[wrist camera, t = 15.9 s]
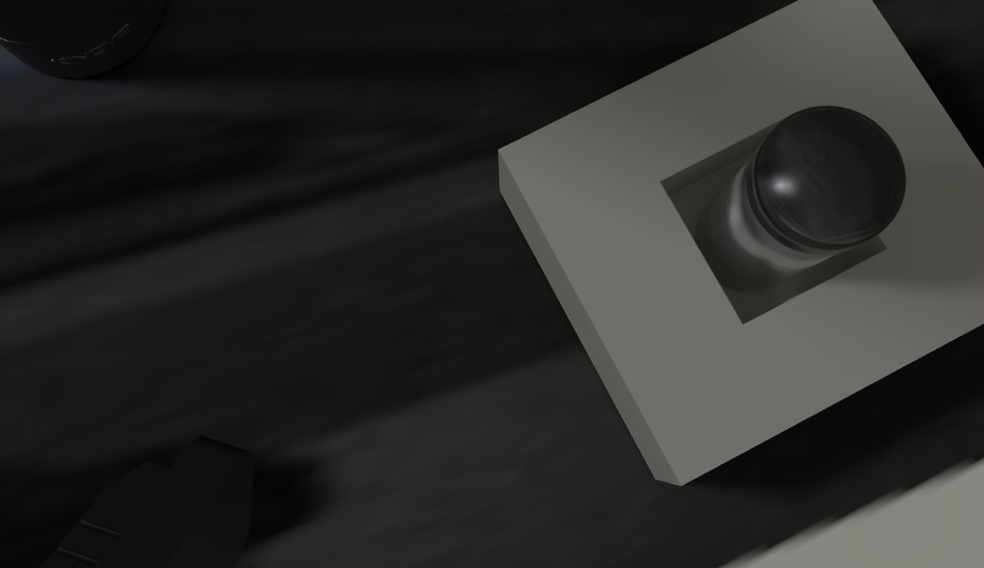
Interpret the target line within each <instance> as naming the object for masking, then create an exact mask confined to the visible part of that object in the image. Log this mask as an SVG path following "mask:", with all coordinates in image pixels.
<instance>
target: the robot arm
mask: <svg viewBox="0 0 984 568" xmlns="http://www.w3.org/2000/svg"><path fill="white" fill-rule="evenodd" d="M165 1H166V0H0V45H1V46H3V47H4V48H5V49H7V50H8V51H9V52H10V53H12V54H13V55H14V56H16V57H17V58H18V59H19V60H21V61H22V62H23V63H25V64H26V65H27V66H29V67H31V68H33V69H35V70H37V71H39V72H41V73H44V74H48V75H52V76H56V77H62V78H82V77H88V76H94V75H98V74H101V73H103V72H106V71H109V70H112V69H114V68H116V67H117V66H119V65H121V64H122V63H124V62H126V61H127V60H129V59H130V58H131V57H133V56H134V55H135V54H136V53H137V52H138V51H139V50H140V49H142V48H143V47H144V45H145V44H146V43H147V41H148V40H149V39H150V37H151V36H152V35H153V33H154V32H155V30H156V28H157V26H158V23H159V21H160V19H161V17H162V13H163V9H164V5H165ZM253 466H254V458H253V454H252V453H251V452H249V451H246V450H243V449H240V448H237V447H234V446H231V445H228V444H225V443H222V442H219V441H216V440H213V439H210V438H207V437H204V436H198V437H196V438H195V439H193V440H192V441H191V442H190V443H189V444H188V446H187V447H186V448H185V449H184V451H183V452H182V453H181V455H180V456H179V457H178V459H177V460H176V461H175V462H174V464H173V465H172V466H171V468H170V469H167V468H164V467H161V466H159V465H156V464H153V463H150V462H145V463H143V464H142V465H140V466H138V467H137V468H135V469H134V470H132V471H130V472H129V473H127V474H126V475H124V476H122V477H121V478H119V479H118V480H116V481H114V482H113V483H111V484H109V485H108V486H107V488H106V489H105V490H104V491H103V492H102V494H101V495H100V496H99V497H98V498H97V500H96V501H95V502H94V503H93V504H92V506H91V507H90V508H89V509H88V510H87V512H86V513H85V514H84V515H83V516H82V518H81V521H80V523H79V524H78V525H75V526H74V527H73V528H72V530H71V531H70V532H69V533H68V534H67V536H66V537H65V538H64V539H63V540H62V542H61V543H60V544H59V547H58V549H57V551H56V552H55V553H54V552H52V554H51V555H50V556H49V557H48V558H47V560H46V561H45V562H44V563H43V564H42V566H41V567H40V568H233V567H234V566H235V564H236V562H237V560H238V558H239V556H240V554H241V551H242V549H243V547H244V544H245V541H246V538H247V535H248V531H249V527H250V521H251V505H252V485H253Z"/></svg>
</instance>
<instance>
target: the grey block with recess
mask: <svg viewBox="0 0 984 568" xmlns="http://www.w3.org/2000/svg"><path fill="white" fill-rule="evenodd" d="M828 105H829V106H839V107H844V108H848V109H851V110H854V111H857V112H859V113H861V114H863V115H865V116H867V117H869V118H870V119H872V120H873V121H875V122H876V123H877V124H878V125H880V126H881V127H882V128H883V129H884V130H885V131H886V132H887V133H888V134H889V136H890V137H891V138H892V140H893V141H894V143H895V144H896V146H897V148H898V150H899V152H900V154H901V157H902V159H903V163H904V167H905V173H906V189H905V196H904V199H903V202H902V205H901V207H900V210H899V212H898V213H897V215H896V217H895V218H894V220H893V221H892V222H891V223H890V224H889V225H888V227H887V228H885V229H884V230H883V231H882V232H881V233H879V234H878V235H876V236H875V237H873V238H871V239H870V240H868V241H866V242H864V243H862V244H860V245H858V246H856V247H854V248H852V249H850V250H848V251H845V252H842V253H838V254H835V255H834V256H832V257H830V258H828V259H826V260H824V261H822V262H821V263H819V264H817V265H815V266H813V267H811V268H809V269H807V270H806V271H804V272H802V273H800V274H798V275H796V276H794V277H793V278H791V279H789V280H787V281H785V282H783V283H781V284H780V285H778V286H776V287H774V288H771V289H769V290H766V291H763V292H757V293H745V292H739V291H734V290H732V289H729V288H727V287H725V286H723V285H721V284H720V283H718V281H717V279H716V277H715V276H714V274H713V272H712V271H711V269H710V267H709V265H708V264H707V262H706V260H705V258H704V257H703V255H702V253H701V252H700V250H699V248H698V246H697V245H696V243H695V229H696V225H697V222H698V219H699V217H700V215H701V213H702V212H703V211H704V209H705V208H706V207H707V206H708V205H709V203H710V202H711V201H712V200H713V199H714V198H715V197H716V196H717V195H718V194H719V192H720V191H721V190H722V189H723V188H724V187H725V186H726V185H727V184H728V183H729V182H730V180H731V179H732V178H733V177H734V176H735V175H736V174H737V173H738V172H739V171H740V169H741V168H742V167H743V166H744V165H745V164H746V163H747V162H748V161H749V160H750V159H751V157H752V156H753V154H754V152H755V151H756V149H757V148H758V146H759V145H760V144H761V142H762V141H763V140H764V139H765V138H766V137H767V136H768V135H769V134H770V132H771V131H772V130H773V129H774V128H775V127H776V126H777V125H778V124H779V123H780V122H781V121H783V120H784V119H785V118H787V117H788V116H790V115H791V114H793V113H795V112H798V111H800V110H803V109H806V108H809V107H815V106H828ZM498 156H499V180H500V192H501V194H502V196H503V197H504V199H505V201H506V203H507V205H508V207H509V209H510V210H511V212H512V214H513V216H514V218H515V220H516V222H517V223H518V225H519V227H520V229H521V231H522V233H523V235H524V236H525V238H526V240H527V242H528V244H529V246H530V248H531V249H532V251H533V253H534V255H535V257H536V259H537V261H538V262H539V264H540V266H541V268H542V270H543V272H544V274H545V275H546V277H547V279H548V281H549V283H550V285H551V287H552V288H553V290H554V292H555V294H556V296H557V298H558V300H559V301H560V303H561V305H562V307H563V309H564V311H565V313H566V314H567V316H568V318H569V320H570V322H571V324H572V326H573V327H574V329H575V331H576V333H577V335H578V337H579V338H580V340H581V342H582V344H583V346H584V348H585V350H586V351H587V353H588V355H589V357H590V359H591V361H592V363H593V364H594V366H595V368H596V370H597V372H598V374H599V376H600V377H601V379H602V381H603V383H604V385H605V387H606V389H607V390H608V392H609V394H610V396H611V398H612V400H613V402H614V403H615V405H616V407H617V409H618V411H619V413H620V415H621V416H622V418H623V420H624V422H625V424H626V426H627V428H628V429H629V431H630V433H631V435H632V437H633V439H634V441H635V442H636V444H637V446H638V448H639V450H640V452H641V454H642V455H643V457H644V459H645V461H646V463H647V465H648V467H649V468H650V470H651V472H652V474H653V476H654V478H655V479H656V480H660V481H664V482H668V483H672V484H675V485H679V486H682V485H684V484H686V483H688V482H690V481H691V480H693V479H695V478H697V477H699V476H701V475H703V474H704V473H706V472H708V471H710V470H712V469H714V468H716V467H717V466H719V465H721V464H723V463H725V462H727V461H729V460H730V459H732V458H734V457H736V456H738V455H740V454H742V453H744V452H745V451H747V450H749V449H751V448H753V447H755V446H757V445H758V444H760V443H762V442H764V441H766V440H768V439H770V438H771V437H773V436H775V435H777V434H779V433H781V432H783V431H784V430H786V429H788V428H790V427H792V426H794V425H796V424H798V423H799V422H801V421H803V420H805V419H807V418H809V417H811V416H812V415H814V414H816V413H818V412H820V411H822V410H824V409H825V408H827V407H829V406H831V405H833V404H835V403H837V402H838V401H840V400H842V399H844V398H846V397H848V396H850V395H851V394H853V393H855V392H857V391H859V390H861V389H863V388H865V387H866V386H868V385H870V384H872V383H874V382H876V381H878V380H879V379H881V378H883V377H885V376H887V375H889V374H891V373H892V372H894V371H896V370H898V369H900V368H902V367H904V366H905V365H907V364H909V363H911V362H913V361H915V360H917V359H919V358H920V357H922V356H924V355H926V354H928V353H930V352H932V351H933V350H935V349H937V348H939V347H941V346H943V345H945V344H946V343H948V342H950V341H952V340H954V339H956V338H958V337H959V336H961V335H963V334H965V333H967V332H969V331H971V330H973V329H974V328H976V327H978V326H980V325H982V324H984V168H983V167H982V165H981V164H980V162H979V161H978V159H977V158H976V156H975V155H974V153H973V152H972V150H971V149H970V147H969V146H968V144H967V143H966V141H965V140H964V138H963V137H962V135H961V134H960V132H959V131H958V129H957V128H956V126H955V125H954V123H953V122H952V120H951V119H950V117H949V116H948V114H947V113H946V111H945V110H944V108H943V107H942V105H941V104H940V102H939V101H938V99H937V98H936V96H935V95H934V93H933V92H932V90H931V89H930V87H929V86H928V84H927V83H926V81H925V79H924V78H923V76H922V75H921V73H920V72H919V70H918V69H917V67H916V66H915V64H914V63H913V61H912V60H911V58H910V57H909V55H908V54H907V52H906V51H905V49H904V48H903V46H902V45H901V43H900V42H899V40H898V39H897V37H896V36H895V34H894V33H893V31H892V30H891V28H890V27H889V25H888V24H887V22H886V21H885V19H884V18H883V16H882V15H881V13H880V12H879V10H878V9H877V7H876V6H875V4H874V3H873V1H872V0H798V1H796V2H794V3H792V4H790V5H788V6H786V7H784V8H782V9H780V10H778V11H776V12H774V13H772V14H770V15H768V16H766V17H764V18H762V19H760V20H758V21H756V22H754V23H752V24H750V25H748V26H746V27H744V28H742V29H740V30H738V31H736V32H734V33H732V34H730V35H728V36H726V37H724V38H722V39H720V40H718V41H716V42H714V43H712V44H710V45H708V46H706V47H704V48H702V49H700V50H698V51H696V52H694V53H692V54H690V55H688V56H686V57H684V58H682V59H680V60H678V61H676V62H674V63H672V64H670V65H668V66H666V67H664V68H662V69H660V70H658V71H656V72H654V73H652V74H650V75H648V76H646V77H644V78H642V79H640V80H638V81H636V82H633V83H631V84H629V85H627V86H625V87H623V88H621V89H619V90H617V91H615V92H613V93H611V94H609V95H607V96H605V97H603V98H601V99H599V100H597V101H595V102H593V103H591V104H589V105H587V106H585V107H583V108H581V109H579V110H577V111H575V112H573V113H571V114H569V115H567V116H565V117H563V118H561V119H559V120H557V121H555V122H553V123H551V124H549V125H547V126H545V127H543V128H541V129H539V130H537V131H535V132H533V133H531V134H529V135H527V136H525V137H523V138H521V139H519V140H517V141H515V142H513V143H511V144H509V145H507V146H505V147H503V148H501V149H499V150H498Z"/></svg>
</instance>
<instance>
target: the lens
mask: <svg viewBox="0 0 984 568" xmlns="http://www.w3.org/2000/svg"><path fill="white" fill-rule="evenodd" d="M905 189H906V173H905V167H904V163H903V159H902V157H901V154H900V152H899V150H898V148H897V146H896V144H895V143H894V141H893V140H892V138H891V137H890V136H889V134H888V133H887V132H886V131H885V130H884V129H883V128H882V127H881V126H880V125H878V124H877V123H876V122H875V121H873V120H872V119H870V118H869V117H867V116H865V115H863V114H861V113H859V112H857V111H854V110H851V109H848V108H844V107H839V106H829V105H828V106H815V107H809V108H806V109H803V110H800V111H798V112H795V113H793V114H791V115H790V116H788V117H787V118H785V119H784V120H783V121H781V122H780V123H779V124H778V125H777V126H776V127H775V128H774V129H773V130H772V131H771V132H770V134H769V135H768V136H767V137H766V138H765V139H764V140H763V141H762V142H761V144H760V145H759V146H758V148H757V149H756V151H755V152H754V154H753V156H752V157H751V159H750V160H749V161H748V162H747V163H746V164H745V165H744V166H743V167H742V168H741V169H740V171H739V172H738V173H737V174H736V175H735V176H734V177H733V178H732V179H731V180H730V182H729V183H728V184H727V185H726V186H725V187H724V188H723V189H722V190H721V191H720V192H719V194H718V195H717V196H716V197H715V198H714V199H713V200H712V201H711V202H710V203H709V205H708V206H707V207H706V208H705V209H704V211H703V212H702V213H701V215H700V217H699V219H698V222H697V225H696V229H695V243H696V245H697V246H698V248H699V250H700V252H701V253H702V255H703V257H704V258H705V260H706V262H707V264H708V265H709V267H710V269H711V271H712V272H713V274H714V276H715V277H716V279H717V281H718V283H720V284H721V285H723V286H725V287H727V288H729V289H732V290H734V291H739V292H745V293H757V292H763V291H766V290H769V289H771V288H774V287H776V286H778V285H780V284H781V283H783V282H785V281H787V280H789V279H791V278H793V277H794V276H796V275H798V274H800V273H802V272H804V271H806V270H807V269H809V268H811V267H813V266H815V265H817V264H819V263H821V262H822V261H824V260H826V259H828V258H830V257H832V256H834V255H835V254H838V253H842V252H845V251H848V250H850V249H852V248H854V247H856V246H858V245H860V244H862V243H864V242H866V241H868V240H870V239H871V238H873V237H875V236H876V235H878V234H879V233H881V232H882V231H883V230H884V229H885V228H887V227H888V225H889V224H890V223H891V222H892V221H893V220H894V218H895V217H896V215H897V213H898V212H899V210H900V207H901V205H902V202H903V199H904V196H905Z"/></svg>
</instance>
